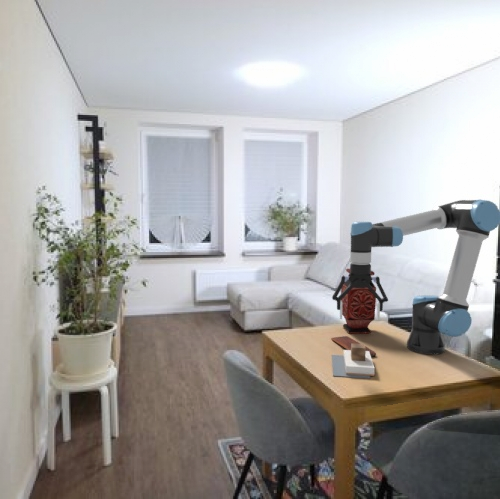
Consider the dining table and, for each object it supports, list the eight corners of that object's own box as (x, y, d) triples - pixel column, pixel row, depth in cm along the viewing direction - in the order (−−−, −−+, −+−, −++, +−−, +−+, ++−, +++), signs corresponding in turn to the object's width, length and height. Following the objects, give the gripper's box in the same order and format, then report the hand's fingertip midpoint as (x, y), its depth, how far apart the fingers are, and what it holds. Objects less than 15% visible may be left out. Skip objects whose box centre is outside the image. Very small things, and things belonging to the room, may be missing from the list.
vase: (375, 334, 208) (377, 272, 205) (346, 334, 207) (348, 272, 204) (366, 326, 222) (367, 267, 218) (339, 326, 221) (340, 268, 218)
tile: (369, 351, 174) (343, 349, 176) (374, 367, 157) (346, 366, 158) (368, 358, 175) (343, 357, 176) (374, 375, 157) (345, 374, 159)
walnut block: (364, 356, 168) (364, 344, 168) (365, 361, 163) (365, 348, 163) (350, 355, 169) (351, 343, 169) (351, 360, 164) (351, 347, 164)
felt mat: (364, 357, 177) (364, 356, 177) (370, 378, 155) (370, 377, 155) (331, 355, 179) (331, 354, 179) (333, 376, 157) (333, 375, 157)
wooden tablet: (377, 356, 178) (377, 352, 177) (355, 357, 175) (355, 353, 175) (349, 337, 203) (349, 333, 203) (329, 338, 201) (329, 335, 201)
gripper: (393, 262, 164) (391, 317, 167) (326, 261, 168) (325, 315, 171) (397, 265, 157) (395, 322, 159) (326, 264, 161) (325, 320, 163)
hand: (359, 319), depth 165 cm, fingers open, 13 cm apart
